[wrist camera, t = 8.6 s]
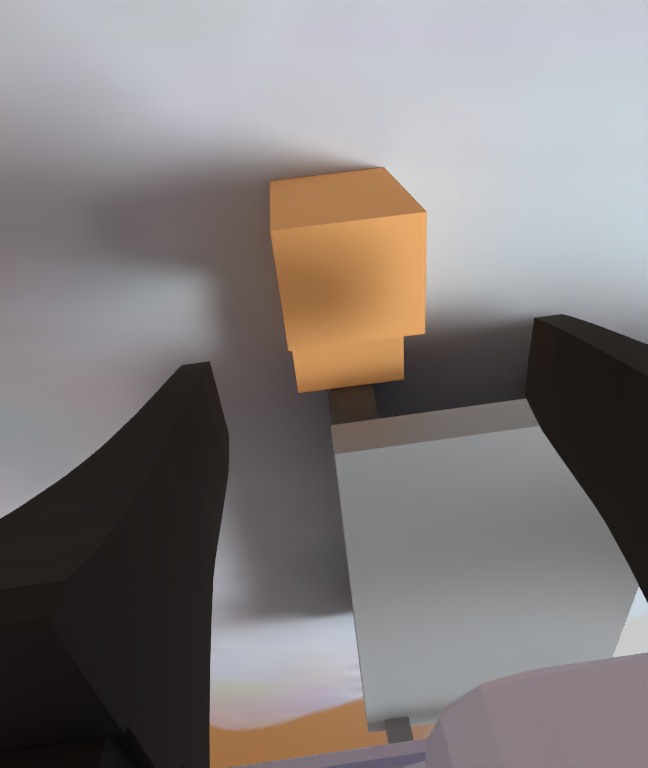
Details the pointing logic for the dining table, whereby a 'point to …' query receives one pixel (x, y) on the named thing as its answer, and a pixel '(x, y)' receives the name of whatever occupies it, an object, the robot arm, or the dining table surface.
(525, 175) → the dining table surface
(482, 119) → the dining table surface
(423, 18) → the dining table surface
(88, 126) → the dining table surface
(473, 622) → the toy platform cart
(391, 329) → the orange block
